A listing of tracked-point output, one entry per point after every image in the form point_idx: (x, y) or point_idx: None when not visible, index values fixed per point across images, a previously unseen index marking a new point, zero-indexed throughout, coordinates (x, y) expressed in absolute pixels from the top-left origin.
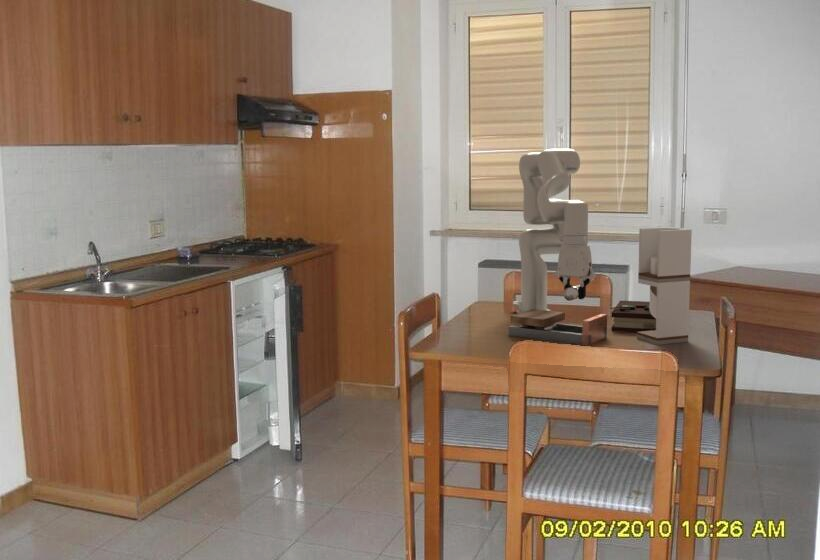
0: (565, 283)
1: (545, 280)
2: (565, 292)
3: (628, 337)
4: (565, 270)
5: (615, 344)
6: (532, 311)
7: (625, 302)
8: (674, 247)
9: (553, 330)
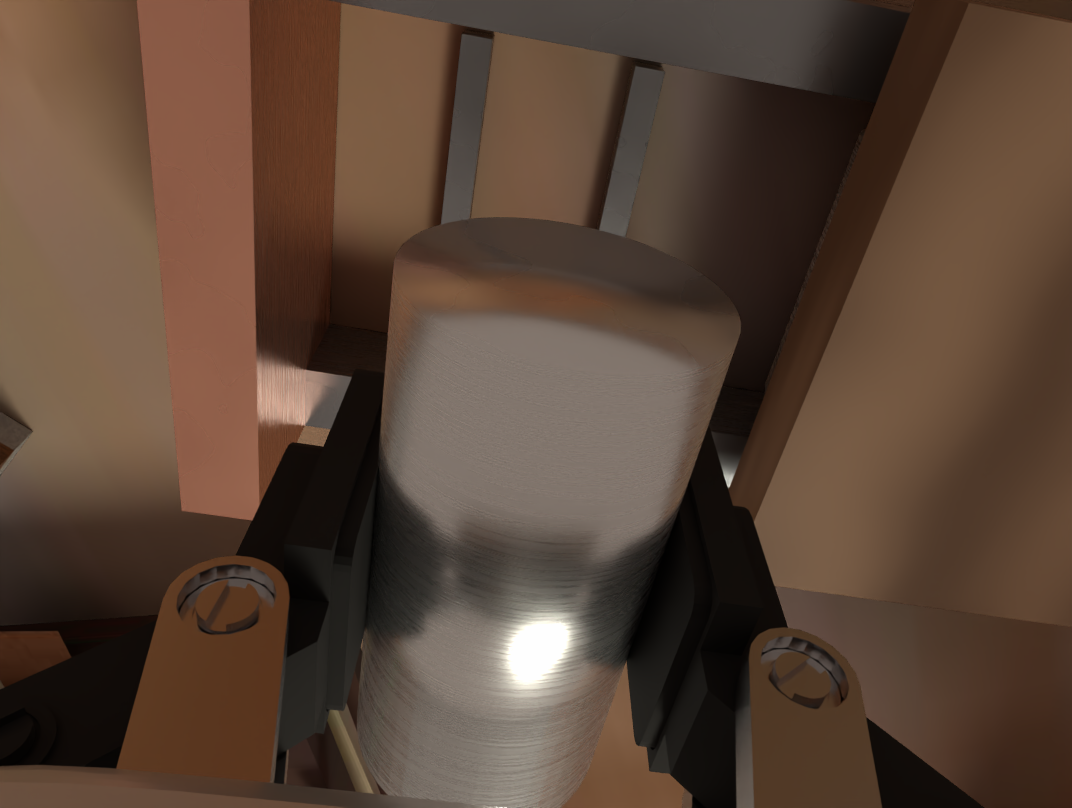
0: (774, 683)
1: None
2: (684, 321)
3: (108, 435)
4: None
5: (33, 79)
6: None
7: None
8: None
9: (766, 72)
